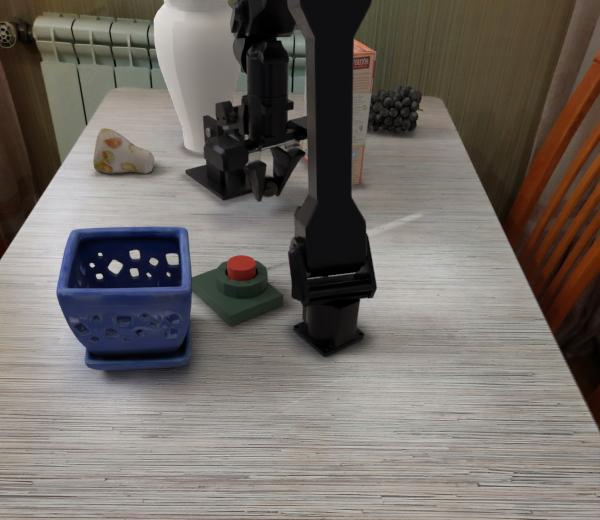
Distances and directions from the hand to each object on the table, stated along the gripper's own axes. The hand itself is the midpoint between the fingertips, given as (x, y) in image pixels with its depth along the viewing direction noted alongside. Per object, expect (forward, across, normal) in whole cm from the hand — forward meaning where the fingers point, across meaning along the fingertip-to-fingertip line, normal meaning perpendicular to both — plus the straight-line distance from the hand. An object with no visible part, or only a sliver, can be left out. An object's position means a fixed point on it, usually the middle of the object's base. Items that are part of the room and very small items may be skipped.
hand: (267, 197), depth 94 cm
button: (-1, +16, +17) cm, 23 cm away
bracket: (+2, 0, -12) cm, 12 cm away
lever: (-3, 0, -7) cm, 7 cm away
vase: (+2, -5, -27) cm, 28 cm away
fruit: (+2, -40, -16) cm, 43 cm away
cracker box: (+2, -18, -6) cm, 19 cm away
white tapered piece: (+2, +12, -25) cm, 28 cm away
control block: (+2, +17, +17) cm, 24 cm away
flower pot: (+2, +31, +19) cm, 37 cm away
